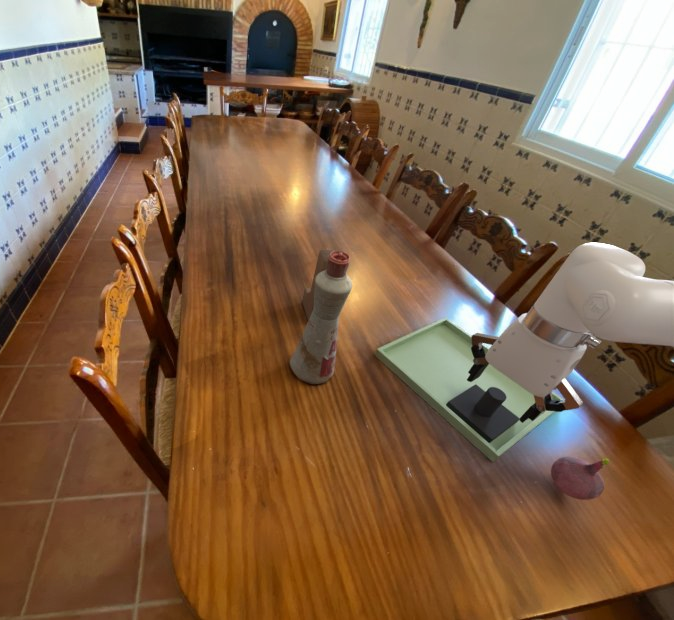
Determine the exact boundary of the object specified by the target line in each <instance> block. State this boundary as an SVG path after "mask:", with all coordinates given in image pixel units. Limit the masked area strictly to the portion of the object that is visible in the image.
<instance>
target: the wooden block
mask: <svg viewBox="0 0 674 620" xmlns="http://www.w3.org/2000/svg"><path fill="white" fill-rule="evenodd" d="M318 251H319V252H318V256H317V259H316V265H315V269H314V274H313V278H312V282H311V287H305V288H304V290H303V295H302V300H301V302H302V306H303V310H304V312H305V316H306V319H307V322H308V321H309V318H310V316H311V314H312V311H313V309H314V290H315V278H316V276H317V275H318V274H319V273H320V272H322V271H325V270H326V269H327V264H328V255H329V254H330V253H331V252H333V251H339V250H333V249H332V250H331V249H330V250H329V249H320V250H318Z"/></svg>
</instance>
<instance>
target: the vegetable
mask: <svg viewBox="0 0 674 620" xmlns="http://www.w3.org/2000/svg"><path fill="white" fill-rule="evenodd" d="M609 463H610V459H608V457H607V458H606V457H605V458H602V459H601V460H599V461H595V462H594V463H590V462H588V461H586V460H585V459H582V458H579V457H574V456H562V457H559V458H557V459H556V460H555V461H553V463H552V465H551V467H550V476H551V479H552V481H553V484H554V485H555V486H556V487H557V488H558V490H560V492H562V493H563V494H565V495H567V496H568V497H571V498H573V499H577V500H580V501H590V500H594V499H597V498H599V497H600V496H601V495H602V494H603V492H604V490H605V483H604V479H603V476H602V475H601V474H600V471H601V470H602V469H604V468H605V466H607V465H608V464H609Z"/></svg>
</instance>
